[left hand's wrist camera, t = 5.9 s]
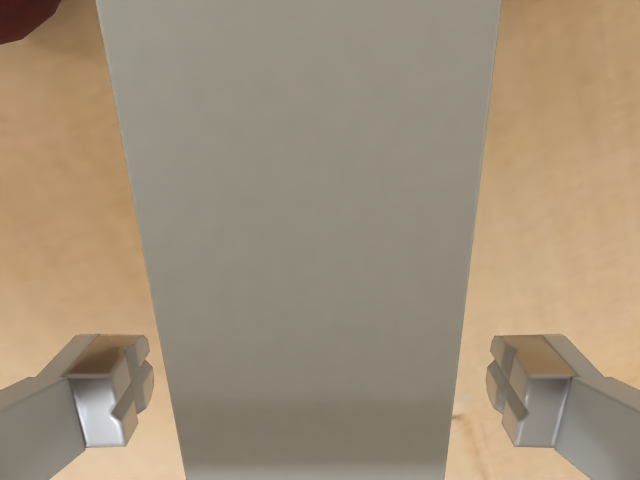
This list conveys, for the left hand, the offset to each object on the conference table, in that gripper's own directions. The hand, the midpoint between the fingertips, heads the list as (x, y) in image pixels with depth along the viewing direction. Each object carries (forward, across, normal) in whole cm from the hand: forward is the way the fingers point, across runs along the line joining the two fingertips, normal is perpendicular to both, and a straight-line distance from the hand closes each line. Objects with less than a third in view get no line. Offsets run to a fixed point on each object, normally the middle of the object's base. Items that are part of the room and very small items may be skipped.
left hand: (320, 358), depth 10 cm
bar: (+5, 0, -11) cm, 12 cm away
